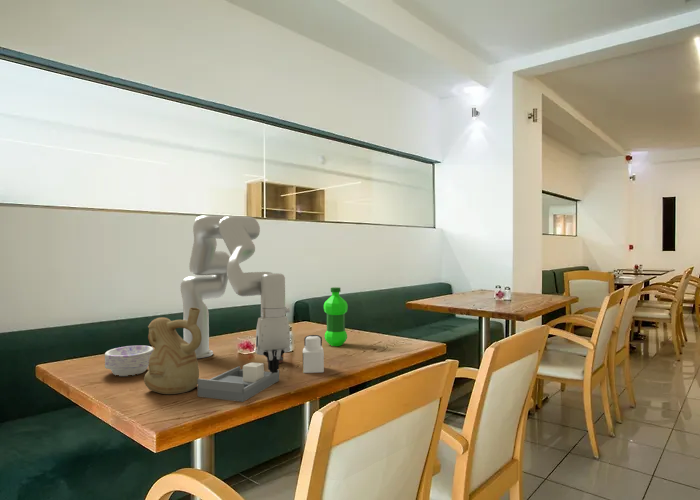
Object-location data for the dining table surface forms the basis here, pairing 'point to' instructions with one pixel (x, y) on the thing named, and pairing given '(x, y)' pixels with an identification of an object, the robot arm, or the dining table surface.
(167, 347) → the ceramic vessel
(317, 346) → the medicine bottle
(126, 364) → the paper bowls
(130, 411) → the dining table surface
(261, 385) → the tray
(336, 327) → the plastic bottle
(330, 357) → the dining table surface
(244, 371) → the cream block
